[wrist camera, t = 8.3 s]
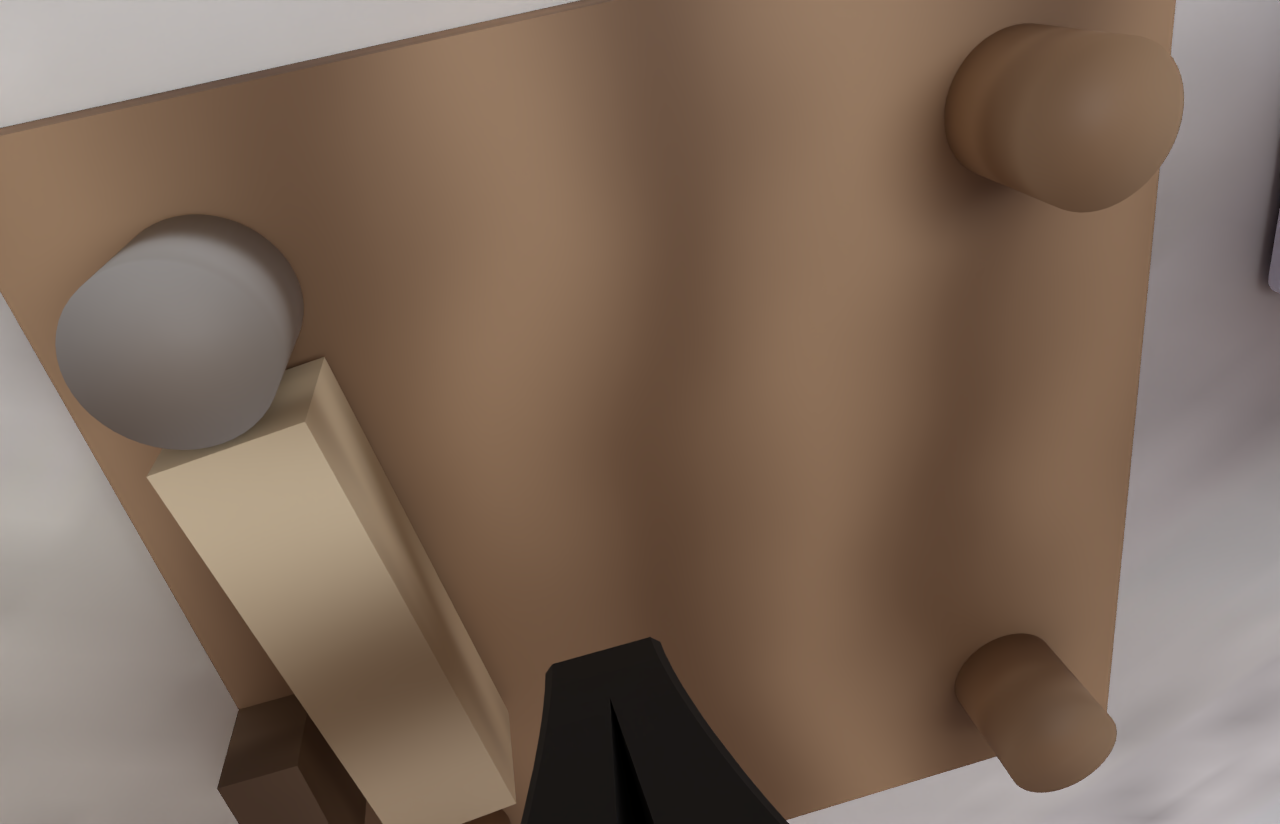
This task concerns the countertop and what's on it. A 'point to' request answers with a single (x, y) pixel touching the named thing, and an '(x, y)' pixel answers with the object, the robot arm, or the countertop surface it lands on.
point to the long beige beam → (290, 510)
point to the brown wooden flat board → (690, 356)
